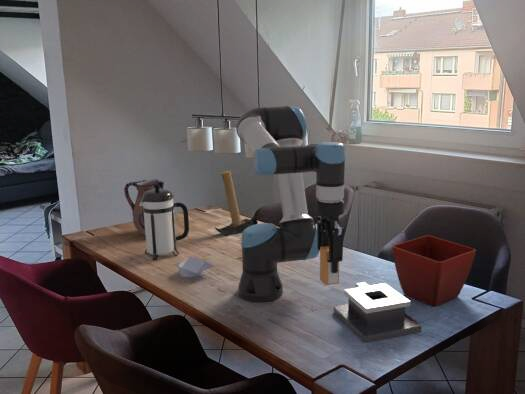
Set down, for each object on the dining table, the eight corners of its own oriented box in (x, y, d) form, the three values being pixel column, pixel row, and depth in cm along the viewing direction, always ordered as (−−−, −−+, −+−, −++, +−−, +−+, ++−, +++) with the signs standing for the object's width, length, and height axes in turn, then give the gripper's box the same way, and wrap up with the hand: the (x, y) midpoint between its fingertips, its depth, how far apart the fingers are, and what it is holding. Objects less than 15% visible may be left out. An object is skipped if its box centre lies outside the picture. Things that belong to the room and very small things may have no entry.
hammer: (221, 241, 241) (207, 179, 231) (216, 238, 245) (202, 178, 235) (258, 226, 250) (246, 166, 240) (253, 224, 254) (241, 165, 244)
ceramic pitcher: (169, 238, 240) (165, 185, 234) (122, 240, 239) (118, 186, 233) (174, 227, 257) (171, 177, 251) (131, 228, 256) (127, 178, 250)
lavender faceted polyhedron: (215, 274, 196) (192, 266, 205) (214, 257, 195) (191, 250, 203) (197, 282, 190) (174, 273, 198) (196, 264, 188) (173, 256, 197)
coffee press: (171, 262, 209) (166, 189, 202) (136, 258, 215) (130, 187, 207) (190, 248, 225) (186, 180, 218) (157, 245, 230) (152, 178, 223)
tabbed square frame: (364, 342, 145) (365, 314, 143) (333, 312, 163) (333, 286, 161) (421, 331, 150) (422, 304, 148) (385, 303, 168) (385, 278, 166)
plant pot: (474, 297, 171) (477, 248, 167) (437, 314, 160) (440, 262, 156) (425, 280, 186) (428, 234, 182) (388, 294, 176) (390, 246, 172)
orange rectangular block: (325, 285, 147) (325, 251, 144) (319, 279, 150) (320, 246, 148) (338, 283, 148) (339, 249, 145) (332, 278, 152) (333, 245, 149)
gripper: (357, 205, 136) (355, 289, 142) (329, 191, 152) (329, 267, 158) (330, 208, 134) (329, 293, 140) (305, 193, 150) (305, 270, 156)
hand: (329, 279), depth 149 cm, fingers closed on orange rectangular block, 4 cm apart
